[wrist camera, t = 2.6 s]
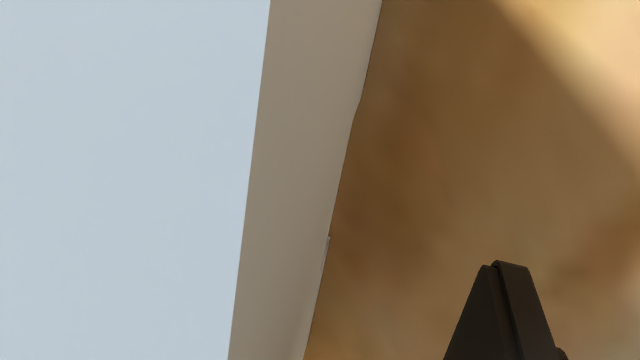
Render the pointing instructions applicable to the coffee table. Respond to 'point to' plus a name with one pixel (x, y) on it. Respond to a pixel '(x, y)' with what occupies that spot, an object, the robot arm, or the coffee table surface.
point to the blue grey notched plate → (171, 173)
